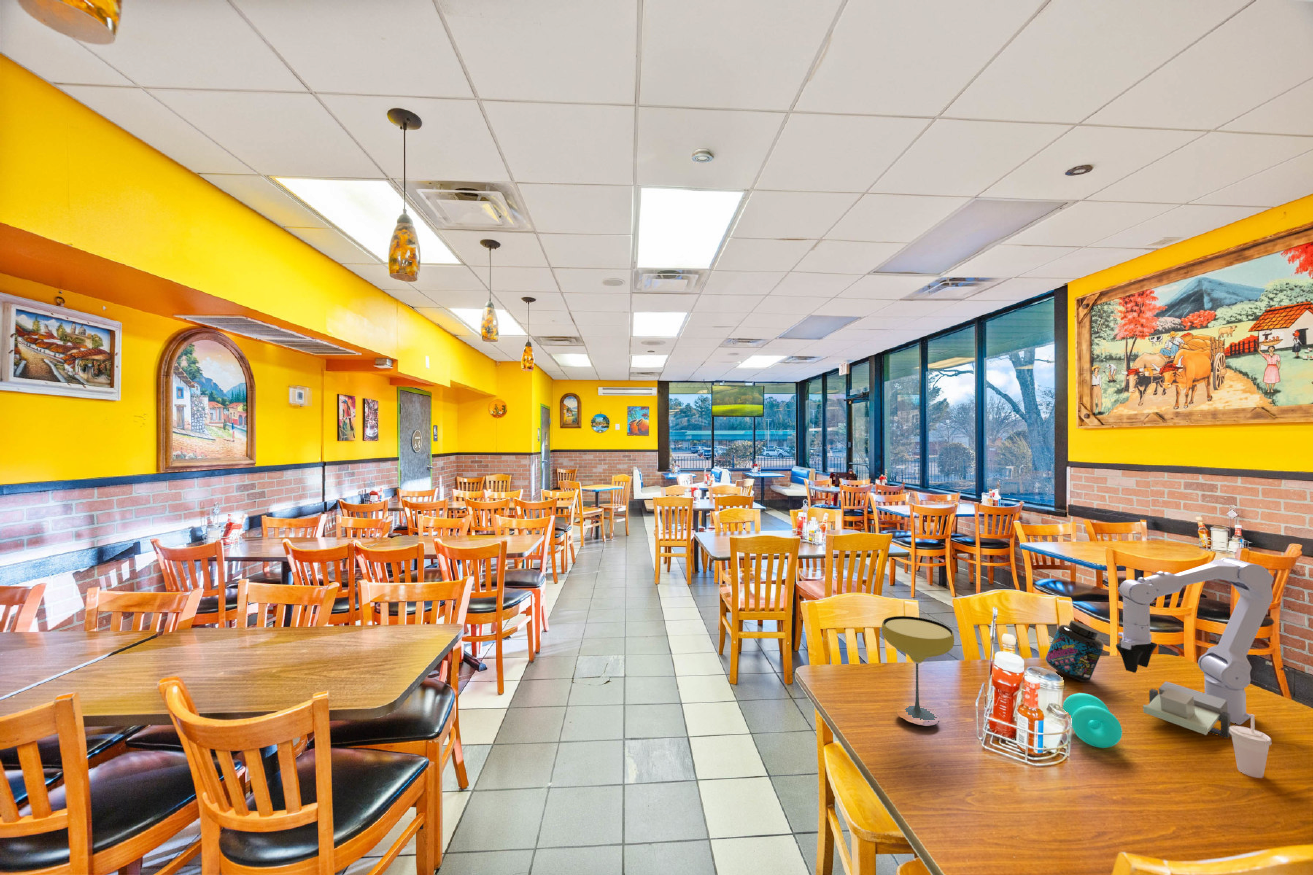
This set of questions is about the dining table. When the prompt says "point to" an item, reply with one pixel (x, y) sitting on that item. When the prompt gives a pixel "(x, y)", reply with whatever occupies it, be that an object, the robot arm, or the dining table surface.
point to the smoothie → (1250, 749)
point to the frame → (1224, 727)
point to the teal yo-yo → (1093, 720)
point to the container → (1075, 650)
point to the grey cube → (1177, 703)
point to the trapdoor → (1204, 705)
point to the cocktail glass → (918, 646)
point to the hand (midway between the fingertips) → (1136, 668)
